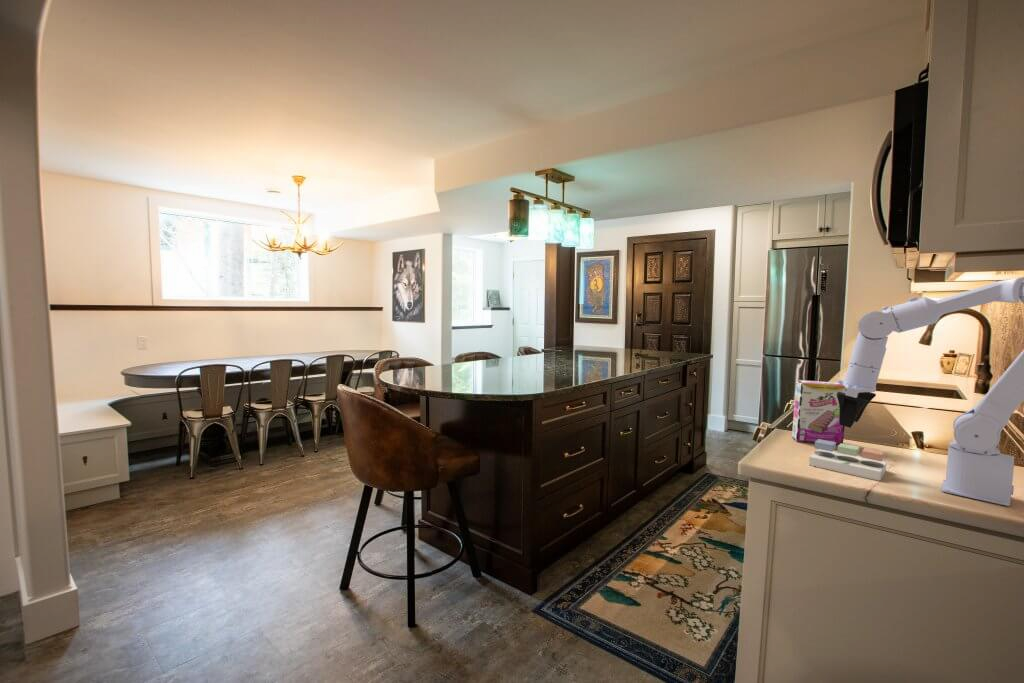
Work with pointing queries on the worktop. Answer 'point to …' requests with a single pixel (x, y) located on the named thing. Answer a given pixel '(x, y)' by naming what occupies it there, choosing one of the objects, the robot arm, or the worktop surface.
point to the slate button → (825, 445)
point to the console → (848, 464)
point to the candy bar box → (817, 412)
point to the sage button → (848, 449)
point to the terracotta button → (873, 454)
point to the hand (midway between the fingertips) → (848, 423)
